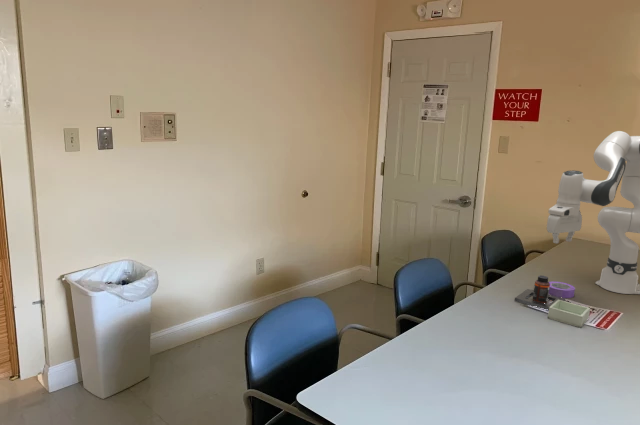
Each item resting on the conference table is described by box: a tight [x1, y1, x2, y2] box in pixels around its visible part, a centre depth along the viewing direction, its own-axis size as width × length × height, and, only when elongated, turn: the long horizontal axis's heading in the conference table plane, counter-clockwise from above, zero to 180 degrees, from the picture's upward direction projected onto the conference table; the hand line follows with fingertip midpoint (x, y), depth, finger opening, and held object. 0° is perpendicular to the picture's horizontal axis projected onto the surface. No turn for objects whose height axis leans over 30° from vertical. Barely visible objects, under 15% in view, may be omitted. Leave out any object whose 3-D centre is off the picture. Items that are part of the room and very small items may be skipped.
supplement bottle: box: [532, 275, 550, 304], centre depth 208 cm, size 6×6×11 cm
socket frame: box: [514, 288, 566, 310], centre depth 209 cm, size 16×16×2 cm
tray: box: [547, 300, 591, 329], centre depth 192 cm, size 12×12×4 cm
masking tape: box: [548, 281, 576, 299], centre depth 220 cm, size 12×12×4 cm
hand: (562, 242), depth 203 cm, fingers open, 8 cm apart
